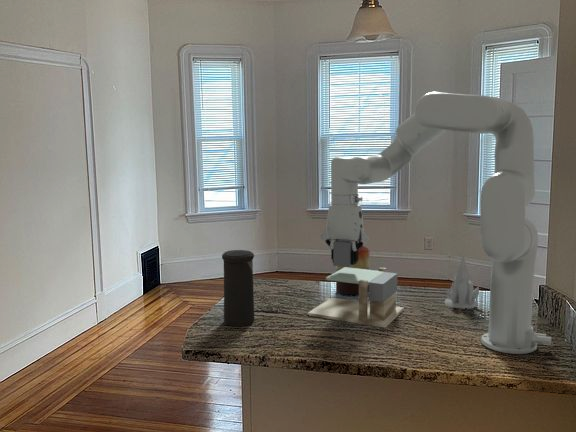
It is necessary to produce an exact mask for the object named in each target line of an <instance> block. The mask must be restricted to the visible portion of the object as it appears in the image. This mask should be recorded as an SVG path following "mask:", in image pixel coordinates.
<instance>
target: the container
mask: <svg viewBox="0 0 576 432" xmlns="http://www.w3.org/2000/svg"><path fill="white" fill-rule="evenodd" d="M221 257H222V260H223V323H224V325H227V326H231V327H244V326H248V325H252V324H253V323H254V322H255V300H254V299H255V296H254V266H253V265H254V264H253V263H254V262H253V260H254V258H255V254H254V253H253V252H252V251H250V250H245V249H232V250H227V251H225V252H223V253H222V255H221Z"/></svg>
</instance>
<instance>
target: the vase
mask: <svg viewBox="0 0 576 432" xmlns="http://www.w3.org/2000/svg"><path fill="white" fill-rule="evenodd" d="M361 240H362V238H360V239H358V242H360V241H361ZM370 251H371V250H370V248H369V247H368V246H366V245H365V244H364V245H363V246H362V247H361V248H360V249H359V250H358V261H357V263H356V264H355V265H353V266H351V267H349V268H358V269H367V270H370V263H371V262H370V259H371V258H370V256H371V254H370ZM335 268H336V270H335V272H337V271H339V270H340V269H342V268H344V267H341V266H335ZM335 291H336V293H337V294H338V295H341V296H343V297H345V296H346V297H359V284H356V283H347V282H339V281H335ZM368 294H369V285H368Z"/></svg>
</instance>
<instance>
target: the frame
mask: <svg viewBox="0 0 576 432" xmlns="http://www.w3.org/2000/svg"><path fill="white" fill-rule="evenodd" d="M387 269H388V268H387V267H378V270H377V271H381V272H388V271H387ZM368 301H369V302H368ZM404 310H405V308H404V306H397V291H396V292H394V293H393V294H392V295H391V296H390V297H388V298H387V299H386V300H385V301H384V302H379V301H371V300H369V293H368V280H360V281H359V296H358V300H352V299H346V298H339V297H330V298H328V299H327V300H325V301H323V302H322V303H321V304H319V305H317V306H315V307H314V308H313V309H311V310H310V311H308V312H307V316H308V315H309V316H310V317H315V318H322V319H328V320H334V321H341V322H348V323H352V324H358V325H364V326H366V325H367V326H372V327H379V328H387V327H388V326H389V325H390V324H391V323H392V322H393V321H395V319H396V318H397V317H398V316H400V314H401V313H403V311H404Z"/></svg>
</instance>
